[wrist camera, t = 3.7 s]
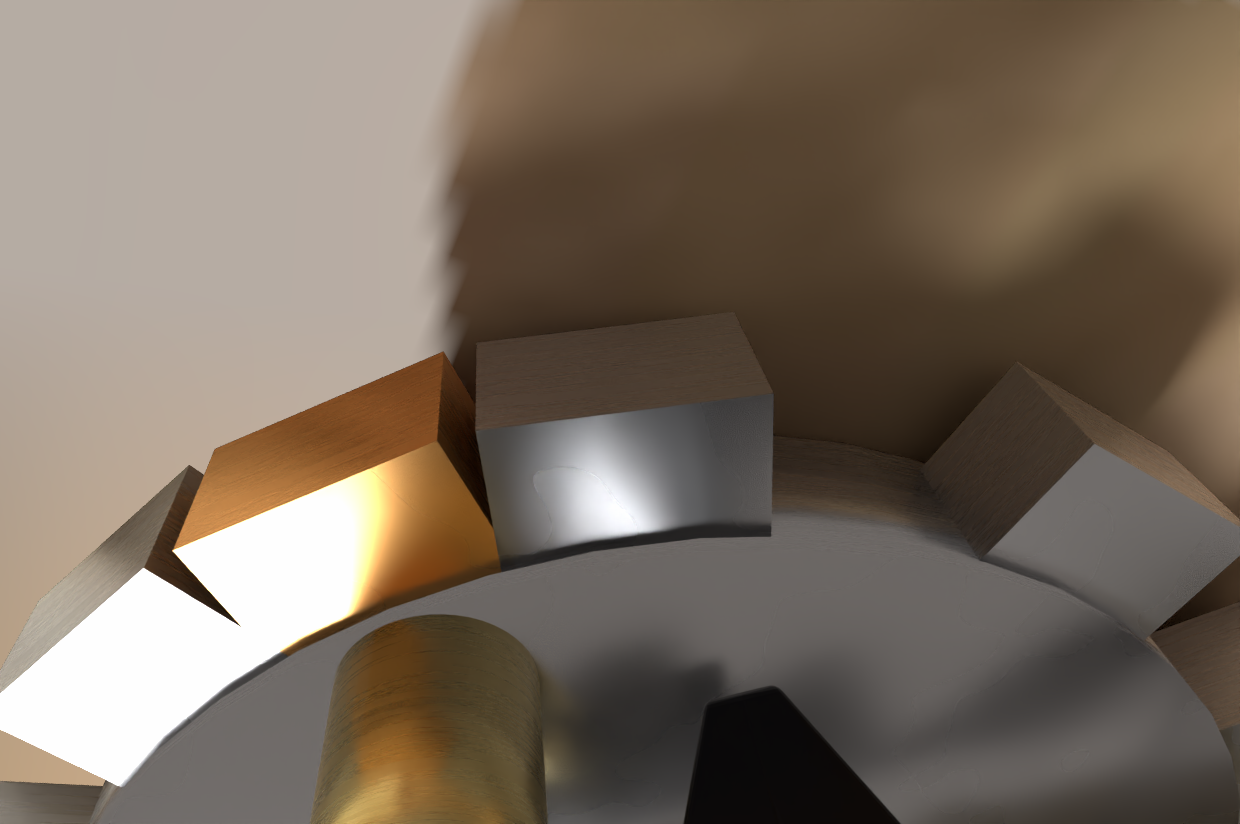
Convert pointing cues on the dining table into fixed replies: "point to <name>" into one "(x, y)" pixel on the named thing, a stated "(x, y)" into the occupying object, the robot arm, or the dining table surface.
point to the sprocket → (637, 607)
